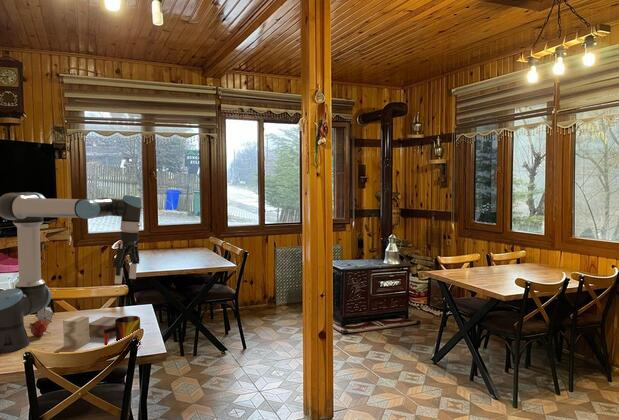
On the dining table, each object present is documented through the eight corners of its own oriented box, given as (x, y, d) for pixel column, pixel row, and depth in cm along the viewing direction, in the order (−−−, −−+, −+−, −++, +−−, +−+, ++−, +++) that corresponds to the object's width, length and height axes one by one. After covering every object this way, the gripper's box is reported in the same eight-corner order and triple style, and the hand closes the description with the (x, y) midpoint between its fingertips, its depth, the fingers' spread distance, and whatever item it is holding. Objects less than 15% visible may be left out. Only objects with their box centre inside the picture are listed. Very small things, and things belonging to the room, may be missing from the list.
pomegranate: (45, 336, 214) (24, 327, 209) (55, 323, 215) (35, 313, 210) (45, 343, 207) (23, 333, 203) (56, 329, 209) (35, 319, 204)
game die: (47, 330, 227) (46, 317, 222) (31, 324, 227) (29, 311, 222) (59, 317, 235) (58, 304, 229) (43, 311, 235) (42, 298, 229)
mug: (103, 353, 186) (102, 324, 185) (126, 342, 200) (125, 315, 199) (124, 356, 184) (123, 326, 183) (145, 344, 197) (144, 316, 196)
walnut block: (87, 337, 207) (87, 324, 207) (104, 328, 219) (103, 316, 218) (111, 339, 205) (111, 325, 204) (127, 330, 216) (126, 317, 216)
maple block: (63, 346, 195) (62, 320, 195) (75, 340, 202) (74, 315, 201) (78, 347, 194) (77, 321, 193) (89, 341, 200) (88, 316, 200)
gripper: (125, 233, 185) (120, 286, 185) (149, 230, 210) (145, 277, 210) (107, 232, 185) (102, 284, 186) (133, 229, 210) (129, 275, 210)
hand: (125, 280), depth 198 cm, fingers open, 13 cm apart
